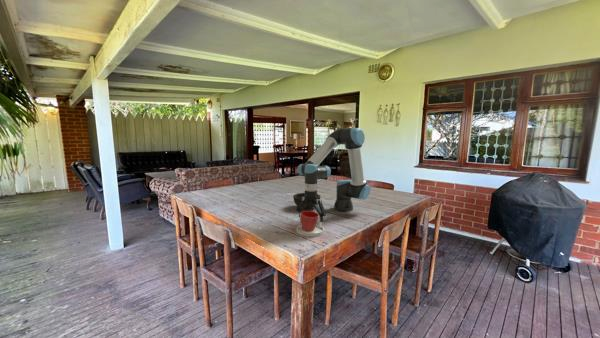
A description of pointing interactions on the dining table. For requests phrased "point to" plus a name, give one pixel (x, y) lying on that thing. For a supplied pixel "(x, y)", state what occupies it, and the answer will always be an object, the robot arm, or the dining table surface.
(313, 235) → the saucer
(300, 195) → the bowl
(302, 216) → the flower pot
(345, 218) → the dining table surface
